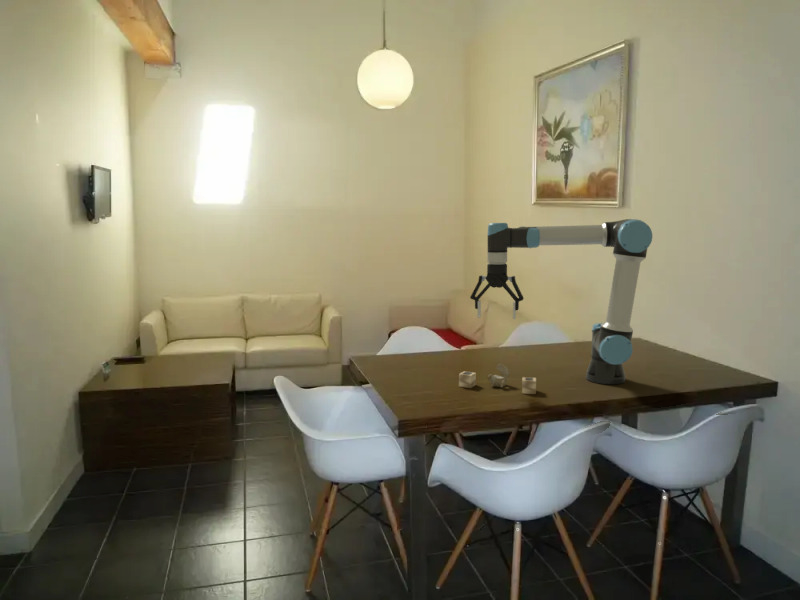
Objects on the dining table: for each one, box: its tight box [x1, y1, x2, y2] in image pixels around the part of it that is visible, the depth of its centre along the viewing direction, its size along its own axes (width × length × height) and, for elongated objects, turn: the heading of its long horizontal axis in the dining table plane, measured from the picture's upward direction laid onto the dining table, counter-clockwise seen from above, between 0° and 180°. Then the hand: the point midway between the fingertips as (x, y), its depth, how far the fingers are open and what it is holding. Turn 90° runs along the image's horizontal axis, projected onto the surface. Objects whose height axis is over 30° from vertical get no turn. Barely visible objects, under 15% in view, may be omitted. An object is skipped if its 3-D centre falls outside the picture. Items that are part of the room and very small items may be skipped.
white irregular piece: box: [487, 363, 510, 389], centre depth 243 cm, size 9×6×10 cm
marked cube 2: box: [521, 376, 537, 395], centre depth 235 cm, size 5×5×5 cm
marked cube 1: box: [458, 370, 477, 389], centre depth 243 cm, size 5×5×5 cm
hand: (496, 318), depth 241 cm, fingers open, 13 cm apart
